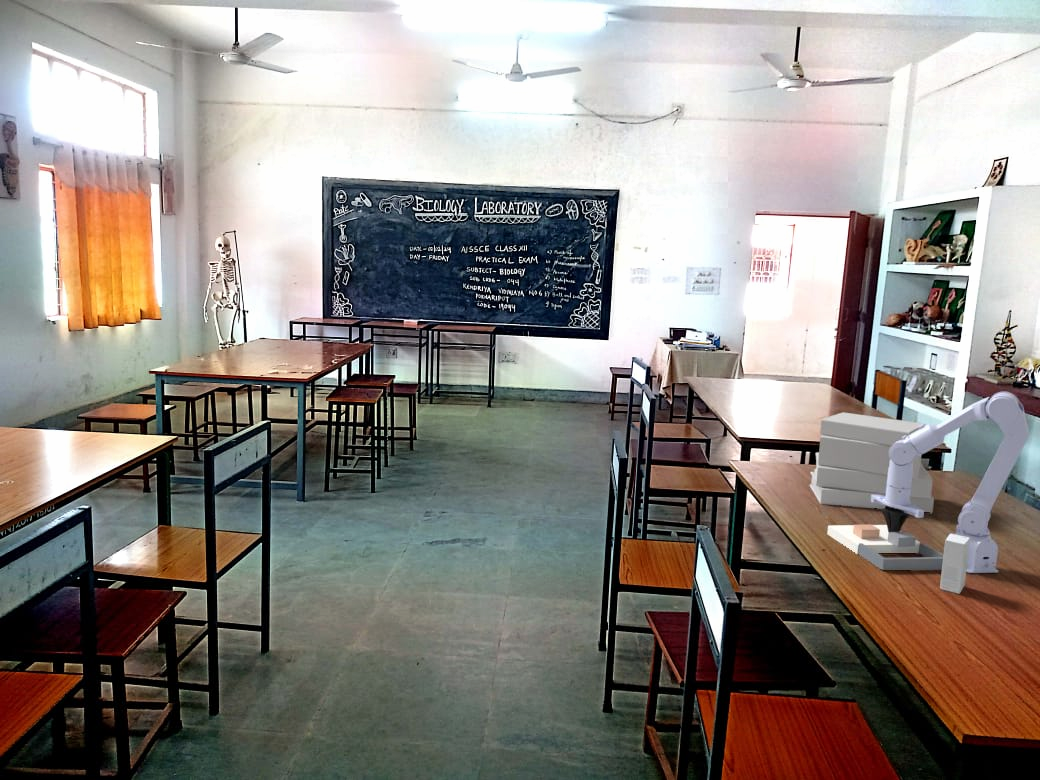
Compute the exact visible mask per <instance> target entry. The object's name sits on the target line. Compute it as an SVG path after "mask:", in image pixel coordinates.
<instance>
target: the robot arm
mask: <svg viewBox="0 0 1040 780" xmlns="http://www.w3.org/2000/svg"><path fill="white" fill-rule="evenodd" d="M1024 407H1025V406H1024V405H1023V403H1022V402H1021V401H1020V400H1019V398H1018V397H1017V396H1016V395H1015V394H1014V393H1012V392H1010V391H999V392H996V393H994V394H993V395H991V397H990V396H987V397H986V398H985V397H984V398H982V399H981V400H977V401H976V402H973V403H972V404H970V405H968V406H967V407H965V408H964V409H962V410H960V411H958V412H957V413H955V414H953V415H952V416H951V417H948V418H947V419H945V420H944V421H942V422H940V423H939V424H934V423H933V424H932V423H927V424H926V425H924V424H925V423H923V425H921V426H919V430H917V431H915V432H914V433H912V434H910V435H909V436H906V435H905V436H903V437H902V439H903V440H899V441H897V442H896V443H895V444H893V445H892V446H891V448H890V449H889V457H890V462H889V464H890V466H889V468H888V477H887V487H886V497H885V496H881V495H878V494H875V495H871V502H873V503H875V502H876V503H879V504H882V505H885V506H886V507H885V508H883V509H881V513H882V514H883V517H884V519H885V523H886V525H887V528H888V532H900V531H901V530H902V527H903V526H904V523H905V522H906V521H907V519H908V518H909V517H910V516H914V517H915V518H917V519H921V518H924V517H925V516H924V514H925V513H924V510H923V509H920V508H918V507H916V506H914V505H912V504H910V493H911V484H912V475H913V470H912V468H913V459H914V458H915V457H916V455H921V456H922V455H923V454H926V453H928V452H929V451H931V450H933V449H935V448H936V447H938V446H940V445H943V444H944V442H945V437H946V436H947V435H949V434H951V433H953V432H955V431H957V430H958V429H961V428H962V427H964V426H966V425H969V424H970V423H973V422H974V421H985V422H987V421H988V420H989V418H990V419H991V420H992V421H993V422H994V423H996V424H997V425H998V427H999V429H1000V430H1001V432H1002V434H1003V436H1004V437H1003V439H1002V440H1001V442H1000V444H999V446H998V449H997V450H996V453H995V454H994V457H993V458H992V460H991V462H990V464H989V466H988V467H987V470H986V471H985V474H984V475H983V478H982V479H981V481H980V483H979V484H978V487H977V488H976V491H975V493H974V494H973V496H972V498H971V499H970V500H969V501H968V502H966V503H965V504H964V505H963V506H962V508H961V511H960V513H959V515H958V517H957V523H958V524H956V528H955V534H956V535H960V536H965V537H969V538H970V543H969V551H968V559H967V568H966V573H969V574H982V573H983V574H987V573H988V574H989V573H990V574H992V573H994V574H995V573H996V574H997V573H999V570H998V569H997V561H998V560H997V559H998V554H999V546H998V544H997V542H996V541H995V540H993V538H992V537H991V531H990V529H989V528H988V526H989V524H988V523H989V520H990V519H991V516H992V515H991V514H992V513H991V510H992V508H993V506H994V504H995V501H996V500H997V498H998V496H999V494H1000V492H1001V491H1002V489H1003V486H1004V485H1005V483H1006V481H1007V479H1008V478H1009V476H1010V473H1011V472H1012V470H1013V467H1014V466H1015V464H1016V462H1017V460H1018V458H1019V456H1020V455H1021V453H1022V451H1023V449H1024V447H1025V445H1026V443H1027V441H1028V439H1029V437H1030V429H1029V426H1028V423H1027V417H1026V413H1025V409H1024Z"/></svg>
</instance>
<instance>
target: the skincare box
mask: <svg viewBox="0 0 1040 780" xmlns="http://www.w3.org/2000/svg"><path fill="white" fill-rule="evenodd" d="M969 543H970V538H969V537H965V536H960V535H956V533H949V535H947V537H946V539H945V540H944V548H943V554H944V556H943V565H942V570H941V575H940V584H939V589H940V590H943V591H946V592H950V593H953V594H958V595H959V594H961V592H962V590H963V589H964V587H965V584H966V576H967V575H966V574H967V572H966V568H967V559H968V551H969Z"/></svg>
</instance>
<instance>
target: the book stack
mask: <svg viewBox="0 0 1040 780" xmlns="http://www.w3.org/2000/svg"><path fill="white" fill-rule="evenodd" d="M923 424H924V425H925V426H926V425H927V424H926V423H922V422H915V421H907V420H901V419H893V418H888V417H886V418H885V417H877V416H871V415H864V414H857V413H851V412H844V411H842V412H840V413H837V414H833V415H831V416H830V415H829V416H827V417H824V418H822V419H821V422H820V431H819V433H820V439H819V452H815V460H816V467H815V468H814V469H813V470H814V471H810V475H811V480H810V481H811V483H810V484H809V487H810V489H811V490H812V493H813V494H814V496H815V498H816V499H817V501H818V503H819V504H820V505H830V506H839V505H841V506H842V507H850V506H851V507H852V508H861V509H862V508H865V509H874V508H877V509H876V510H882V509H883V508H885V507H886V506H885V505H882V504H879V503H876V502H875V503H873V502H871V495H875V494H878V495H881V496H885V497H886V487H887V477H888V468H889V466H890V464H889V462H890V457H889V449H890V448H891V446H892V445H893V444H895V443H896V442H897V441H899V440H903V439H902V437H903V436H905V435H906V436H909V435H910V434H912V433H914V432H915V431H917V430H919V426H921V425H923ZM921 462H922V455H916V457H915V458H914V459H913V468H912V470H913V475H912V484H911V493H910V504H912V505H914V506H916V507H918V508H920V509H923V510H924V512H930V513H929V514H933V510H934V503H935V498H934V496H932V492H933V491H932V490H933V482H934V479H933V477H932V476H931V474H929V472H928V470H927V469H926V468H925V467H924V466H923V463H921Z"/></svg>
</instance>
